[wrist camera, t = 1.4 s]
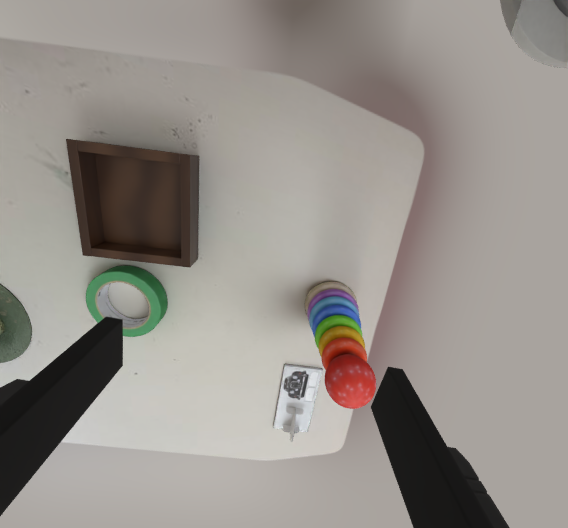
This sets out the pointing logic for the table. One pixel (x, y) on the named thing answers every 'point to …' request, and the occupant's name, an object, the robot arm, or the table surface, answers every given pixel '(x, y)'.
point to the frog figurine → (12, 327)
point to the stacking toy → (340, 344)
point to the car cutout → (297, 398)
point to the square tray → (136, 202)
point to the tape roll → (139, 280)
